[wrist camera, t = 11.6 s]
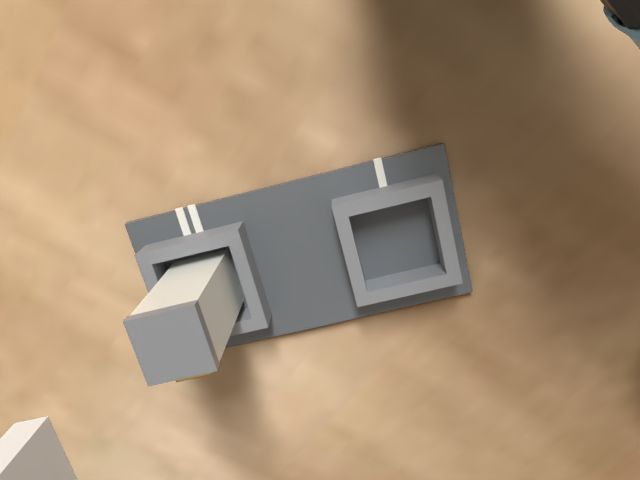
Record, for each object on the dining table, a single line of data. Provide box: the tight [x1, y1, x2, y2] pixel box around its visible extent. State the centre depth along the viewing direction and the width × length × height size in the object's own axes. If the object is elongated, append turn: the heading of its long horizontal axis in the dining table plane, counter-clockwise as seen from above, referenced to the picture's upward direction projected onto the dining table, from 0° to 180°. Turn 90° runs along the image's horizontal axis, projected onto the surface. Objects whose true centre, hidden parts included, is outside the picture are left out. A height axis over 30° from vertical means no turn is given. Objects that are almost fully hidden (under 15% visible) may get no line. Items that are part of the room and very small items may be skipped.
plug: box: [123, 249, 244, 386], centre depth 39 cm, size 6×4×11 cm
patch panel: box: [125, 143, 473, 348], centre depth 43 cm, size 12×25×3 cm, turn 104°
